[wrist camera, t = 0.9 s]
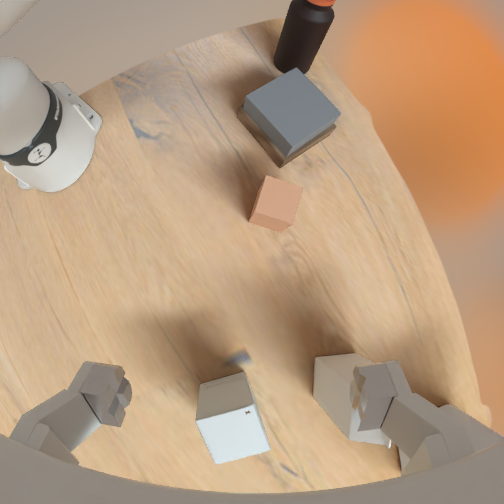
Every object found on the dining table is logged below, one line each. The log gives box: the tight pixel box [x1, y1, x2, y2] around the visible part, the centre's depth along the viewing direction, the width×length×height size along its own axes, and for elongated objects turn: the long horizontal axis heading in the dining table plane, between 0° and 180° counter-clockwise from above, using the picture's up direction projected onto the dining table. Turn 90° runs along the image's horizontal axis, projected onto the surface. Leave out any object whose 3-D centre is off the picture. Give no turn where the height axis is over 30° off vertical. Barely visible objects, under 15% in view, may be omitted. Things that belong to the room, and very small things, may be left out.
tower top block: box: [243, 67, 341, 157], centre depth 43 cm, size 10×10×4 cm
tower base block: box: [237, 105, 336, 168], centre depth 47 cm, size 11×11×4 cm
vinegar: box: [274, 0, 335, 74], centre depth 39 cm, size 7×7×20 cm
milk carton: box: [313, 353, 391, 448], centre depth 37 cm, size 7×7×19 cm
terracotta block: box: [249, 175, 303, 232], centre depth 43 cm, size 5×5×8 cm
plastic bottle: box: [399, 404, 504, 471], centre depth 34 cm, size 15×15×28 cm
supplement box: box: [196, 371, 271, 464], centre depth 38 cm, size 7×7×13 cm
